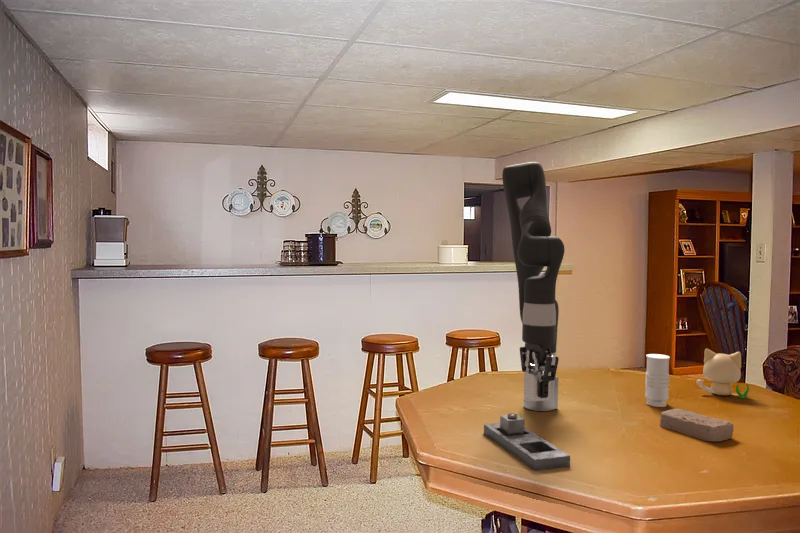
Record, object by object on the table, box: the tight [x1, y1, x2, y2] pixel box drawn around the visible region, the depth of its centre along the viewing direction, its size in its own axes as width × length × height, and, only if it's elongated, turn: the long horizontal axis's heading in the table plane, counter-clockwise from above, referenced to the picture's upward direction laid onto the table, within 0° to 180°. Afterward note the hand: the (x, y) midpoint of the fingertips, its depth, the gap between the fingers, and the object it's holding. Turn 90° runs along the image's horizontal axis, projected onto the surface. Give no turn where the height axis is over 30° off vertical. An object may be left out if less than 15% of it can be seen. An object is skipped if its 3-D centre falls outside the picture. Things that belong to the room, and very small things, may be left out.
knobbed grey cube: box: [499, 412, 526, 436], centre depth 155 cm, size 4×4×7 cm
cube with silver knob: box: [523, 369, 551, 401], centre depth 142 cm, size 4×4×7 cm
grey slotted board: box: [483, 422, 571, 471], centre depth 149 cm, size 9×26×2 cm, turn 18°
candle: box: [644, 353, 671, 408], centre depth 188 cm, size 7×7×15 cm
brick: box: [659, 408, 734, 443], centre depth 162 cm, size 17×8×5 cm, turn 30°
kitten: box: [696, 348, 750, 399], centre depth 200 cm, size 15×10×15 cm
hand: (537, 394), depth 142 cm, fingers closed on cube with silver knob, 4 cm apart
